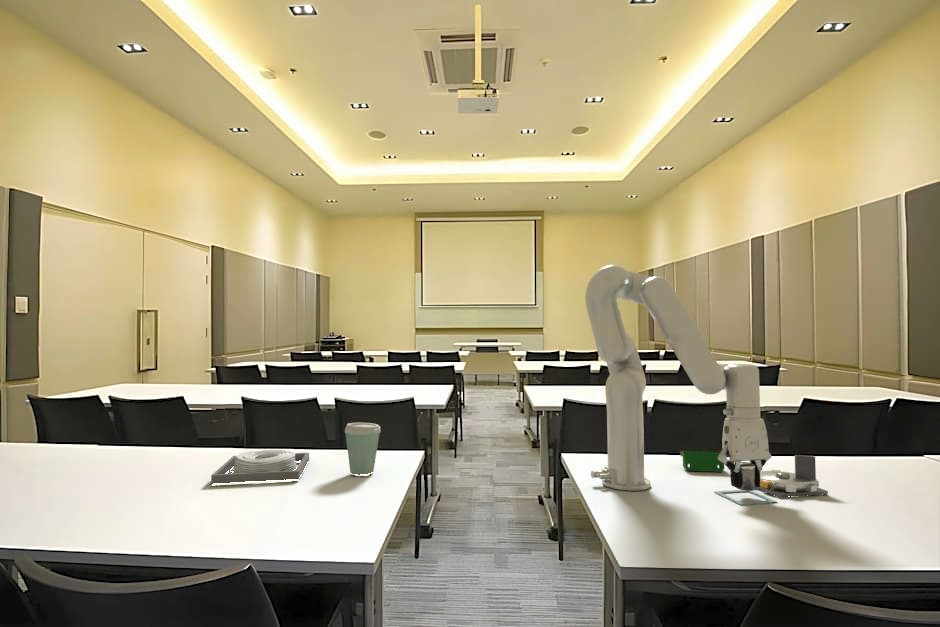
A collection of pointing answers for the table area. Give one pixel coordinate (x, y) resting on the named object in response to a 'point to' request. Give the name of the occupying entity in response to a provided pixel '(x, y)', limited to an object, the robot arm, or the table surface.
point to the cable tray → (258, 476)
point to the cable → (264, 461)
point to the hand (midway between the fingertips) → (745, 485)
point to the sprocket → (793, 476)
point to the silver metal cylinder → (747, 476)
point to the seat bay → (744, 502)
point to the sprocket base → (798, 493)
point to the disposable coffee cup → (362, 446)
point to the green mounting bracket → (701, 461)
